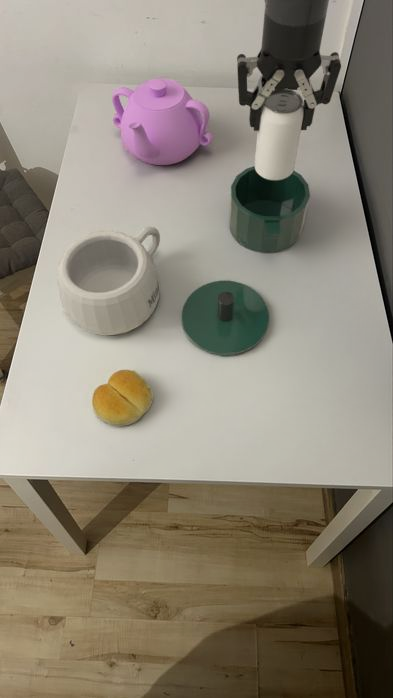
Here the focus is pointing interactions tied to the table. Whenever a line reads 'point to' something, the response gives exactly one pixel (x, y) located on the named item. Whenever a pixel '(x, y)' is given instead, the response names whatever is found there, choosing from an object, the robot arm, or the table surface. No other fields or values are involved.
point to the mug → (109, 281)
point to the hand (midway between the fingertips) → (279, 126)
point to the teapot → (161, 122)
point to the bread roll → (122, 398)
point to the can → (279, 134)
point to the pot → (267, 210)
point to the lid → (225, 317)
